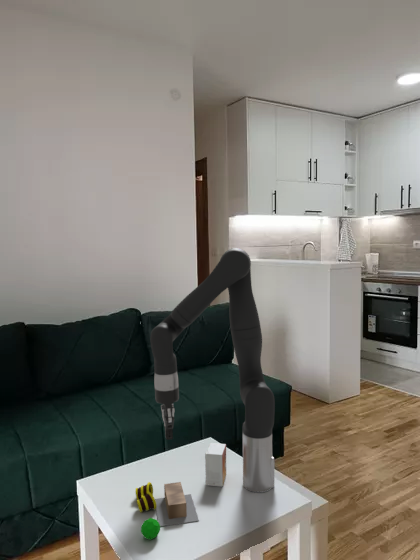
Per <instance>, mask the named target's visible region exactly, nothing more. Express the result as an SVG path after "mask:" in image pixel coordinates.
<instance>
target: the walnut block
mask: <svg viewBox="0 0 420 560" xmlns="http://www.w3.org/2000/svg"><path fill="white" fill-rule="evenodd" d="M163 488H164V498H165V502H166V507H167V512H168V517H169V519H173V518H179V517H186V516H187V509H186V500H185V496H184V495H185V493H184V490H183V486H182V482H181V481H178V482H170V483H164V484H163Z"/></svg>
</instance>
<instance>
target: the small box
mask: <svg viewBox="0 0 420 560" xmlns="http://www.w3.org/2000/svg"><path fill="white" fill-rule="evenodd" d="M204 455H205V456H204V460H205V461H204V463H205V464H204V465H205V467H204V468H205V485H206V486H209V487H210V486H212V487H223V486H224V482H225V480H226V477H227V444H226V443H218V442H209V445H208V448H207V449H206V452H205V454H204Z"/></svg>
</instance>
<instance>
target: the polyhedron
mask: <svg viewBox="0 0 420 560" xmlns="http://www.w3.org/2000/svg"><path fill="white" fill-rule="evenodd" d="M140 532H141V535H142V536H143V538H144V539H147V540H153V539H155V538H157V537H158V535H159V534H160V532H161V527H160V524H159V523H158V519H156V518H152V517H149V518H147V519H145V520H143V523H142V524H141V527H140Z"/></svg>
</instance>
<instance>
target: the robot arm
mask: <svg viewBox="0 0 420 560" xmlns="http://www.w3.org/2000/svg"><path fill="white" fill-rule="evenodd" d="M251 264H252V263H251V258H250V255H249V254H248V252H246V251H245V250H244V249H242V248H240V247H233V248H232V247H231V248H229V249H228V250H227V251H225V252H224V253H223V254H222V255H221V257H220V260H219V261H218V262H217V264H216V266H215V267H214V268H213V269H212V271H211V272H210V273H209V275H208V276H207V277H206V278H205V279H204V280H203V281H202V282H201V283H200V284H199V285H197V287H196V288H194V289H193V290H192V291H191V292H189V294H187V295H186V296H185V297H184V298H183V299H182V300H181V301H180V302H179V303H178V304H177V305H176V306H175V307H174V308H173V309H172V311H171V313H170V314H169V315H167V316H166V318H164V319H163V320H161V322H160V323H159V324H158V325H156V326H155V327H154V328H153V329H152V330H151V331H150V337H149V338H150V339H149V340H150V348H151V352H152V356H153V363H154V364H153V365H154V377H153V378H154V380H153V381H154V382H153V383H154V398H155V402H156V403H157V404H161V405H160V409H161V416H162V420H163V423H164V424H163V426H164V431H165V433H164V434H165V439H166V440H167V441H168V440H173V439H174V434H173V433H174V432H173V429H174V427H175V426H174V425H175V407H174V404H175V403H176V402H178V401H179V399H180V390H179V387H180V386H179V375H178V366H177V365H178V363H177V357H176V354H175V353H174V347H173V343H174V341H175V340H176V339H177V338H178V337H179V336H180V335H181V334H182V332H184V331H185V329H186V328H188V327H189V326H190V325H192V324H193V322H195V320H197V318H198V317H200V315H202V313H203V312H204V311H206V309H207V308H208V307H209V306H210V305H211V304H212V303H213V301H215V300H216V298H217V297H219V296H220V295H221V294H222V293H223V292H224V291H225V290H227V291H228V295H229V297H228V299H229V300H228V301H229V303H228V304H229V306H228V308H229V309H228V310H229V311H228V312H229V313H228V317H229V327H230V333H231V338H232V339H231V340H232V345H233V350H234V353H235V357H236V363H237V366H238V376H239V377H238V378H239V394H240V399H241V401H242V403H243V404H244V405H243V406H244V411H245V413H244V422H242V485H243V488H245V489H246V490H247V491H250V492H252V493H265V492H268V491H270V490H271V489H274V488H275V457H274V456H273V428H274V424H275V411H276V410H275V409H276V408H275V407H276V406H275V405H276V403H275V396H274V395H275V394H274V393H273V391H272V390H271V388H270V387H269V386H268V385H267V383H266V381H265V377H264V373H263V369H262V368H263V367H262V361H261V359H262V350H263V349H262V348H263V335H262V329H261V328H262V326H261V320H260V317H259V312H258V308H257V303H256V300H255V296H254V293H253V288H252V276H251V275H252V274H251V272H252V271H251V270H252V269H251V267H252V266H251Z"/></svg>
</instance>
